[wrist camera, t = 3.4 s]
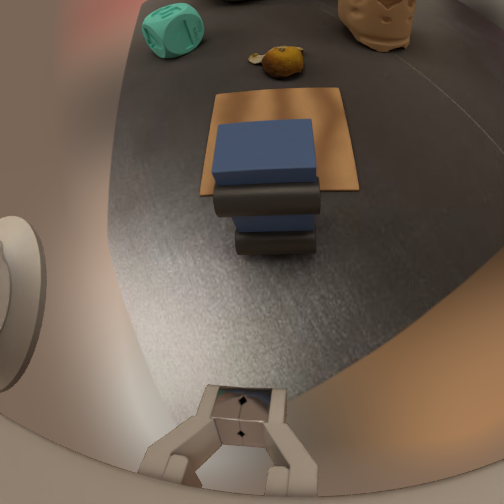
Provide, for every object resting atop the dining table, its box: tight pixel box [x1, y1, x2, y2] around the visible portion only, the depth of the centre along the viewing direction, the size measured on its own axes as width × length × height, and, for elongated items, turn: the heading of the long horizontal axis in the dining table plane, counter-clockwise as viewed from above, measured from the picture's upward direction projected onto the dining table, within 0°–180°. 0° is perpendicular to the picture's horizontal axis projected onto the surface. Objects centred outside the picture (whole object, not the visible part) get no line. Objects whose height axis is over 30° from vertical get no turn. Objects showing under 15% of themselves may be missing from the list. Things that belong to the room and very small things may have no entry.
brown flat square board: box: [200, 88, 359, 196], centre depth 33 cm, size 16×16×1 cm
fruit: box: [248, 46, 304, 79], centre depth 36 cm, size 8×8×4 cm
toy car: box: [211, 119, 320, 255], centre depth 23 cm, size 6×6×12 cm
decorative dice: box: [141, 3, 204, 58], centre depth 41 cm, size 8×8×8 cm
